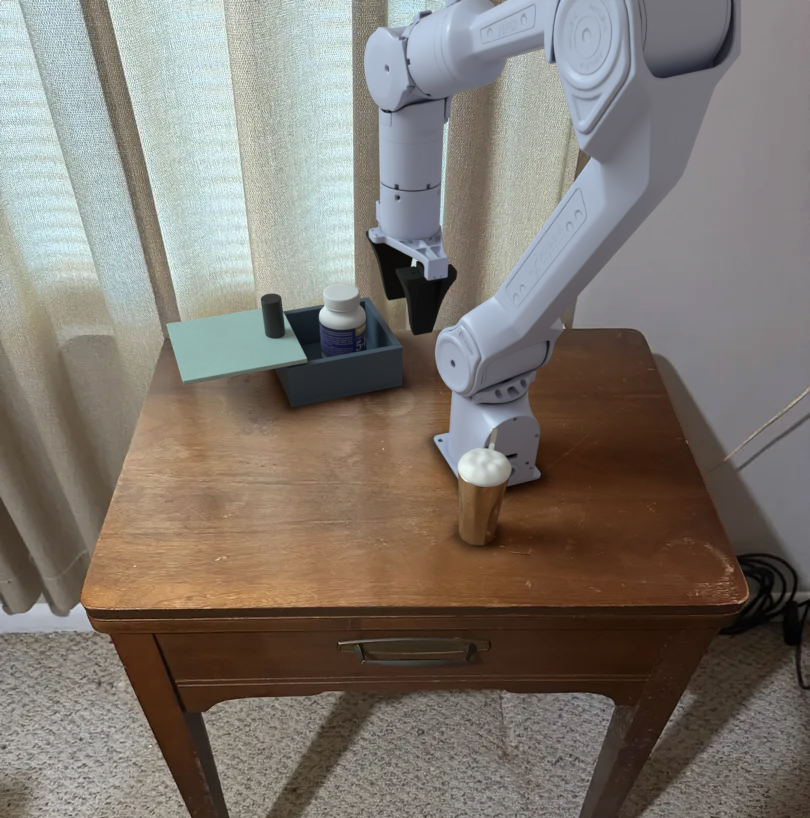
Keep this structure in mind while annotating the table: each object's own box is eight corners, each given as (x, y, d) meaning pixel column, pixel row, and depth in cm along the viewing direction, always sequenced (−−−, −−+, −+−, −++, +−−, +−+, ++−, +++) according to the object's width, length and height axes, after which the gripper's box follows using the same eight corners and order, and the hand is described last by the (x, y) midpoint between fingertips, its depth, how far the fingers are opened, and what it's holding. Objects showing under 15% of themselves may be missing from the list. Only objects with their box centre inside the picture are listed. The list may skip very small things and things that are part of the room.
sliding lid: (307, 362, 80) (303, 322, 77) (183, 385, 77) (174, 344, 74) (280, 308, 88) (276, 270, 85) (167, 327, 85) (157, 288, 81)
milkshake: (508, 517, 72) (521, 433, 64) (494, 556, 68) (506, 472, 61) (462, 506, 73) (470, 422, 65) (446, 544, 69) (452, 459, 62)
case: (402, 385, 87) (403, 347, 83) (292, 407, 83) (287, 368, 80) (369, 333, 94) (368, 296, 91) (267, 352, 91) (262, 314, 88)
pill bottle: (365, 375, 87) (363, 304, 81) (320, 374, 87) (314, 303, 81) (368, 350, 91) (366, 280, 84) (324, 349, 91) (319, 279, 84)
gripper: (345, 158, 73) (351, 289, 83) (397, 215, 64) (396, 356, 74) (413, 150, 75) (411, 279, 85) (473, 205, 66) (463, 343, 75)
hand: (408, 314), depth 79 cm, fingers open, 7 cm apart
